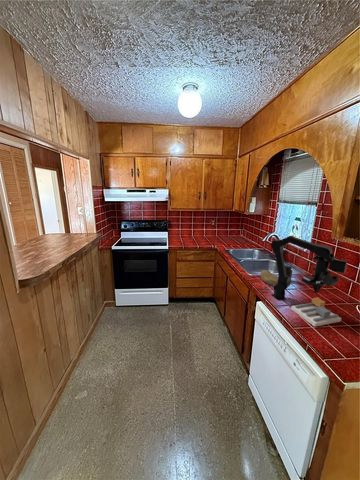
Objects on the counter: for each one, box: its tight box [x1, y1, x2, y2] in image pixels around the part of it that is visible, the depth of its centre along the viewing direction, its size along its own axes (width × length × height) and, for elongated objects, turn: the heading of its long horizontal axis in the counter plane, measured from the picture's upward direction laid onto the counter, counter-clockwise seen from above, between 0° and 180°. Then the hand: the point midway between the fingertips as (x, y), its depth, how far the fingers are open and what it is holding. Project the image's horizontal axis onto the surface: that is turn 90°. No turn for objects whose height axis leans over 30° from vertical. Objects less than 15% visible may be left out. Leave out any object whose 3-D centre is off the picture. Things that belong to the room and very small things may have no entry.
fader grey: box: [316, 306, 332, 317], centre depth 108 cm, size 5×4×4 cm
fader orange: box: [311, 297, 326, 307], centre depth 117 cm, size 5×4×4 cm
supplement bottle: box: [285, 264, 293, 279], centre depth 154 cm, size 7×7×12 cm
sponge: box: [260, 269, 278, 287], centre depth 152 cm, size 13×8×20 cm
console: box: [290, 302, 342, 328], centre depth 113 cm, size 16×18×3 cm
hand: (316, 292), depth 114 cm, fingers closed
